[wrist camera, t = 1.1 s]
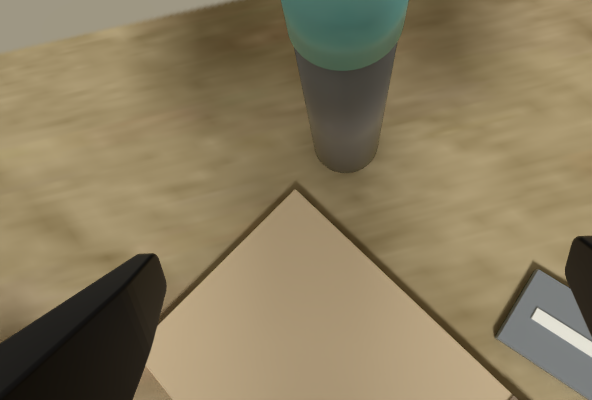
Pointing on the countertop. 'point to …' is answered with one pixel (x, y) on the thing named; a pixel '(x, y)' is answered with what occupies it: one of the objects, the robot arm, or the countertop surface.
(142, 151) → the countertop surface
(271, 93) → the countertop surface
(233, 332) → the notepad
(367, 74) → the marker
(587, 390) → the word tile
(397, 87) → the countertop surface
